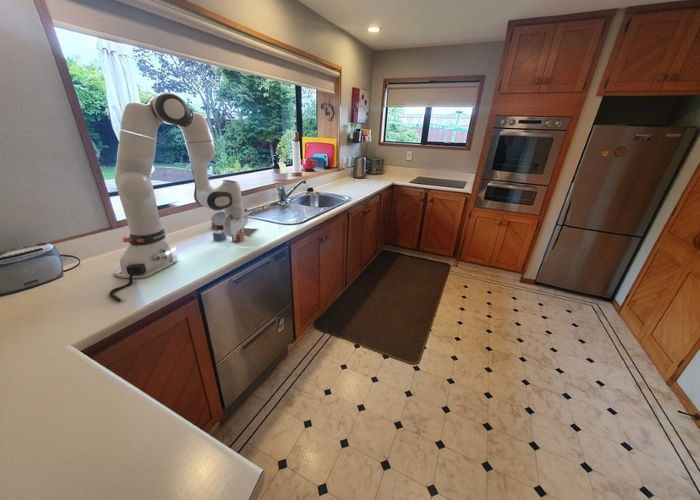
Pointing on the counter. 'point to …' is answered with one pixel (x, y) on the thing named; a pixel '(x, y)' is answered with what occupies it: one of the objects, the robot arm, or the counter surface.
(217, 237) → the letter T
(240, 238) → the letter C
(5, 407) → the counter surface
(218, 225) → the canned food
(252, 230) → the word board
